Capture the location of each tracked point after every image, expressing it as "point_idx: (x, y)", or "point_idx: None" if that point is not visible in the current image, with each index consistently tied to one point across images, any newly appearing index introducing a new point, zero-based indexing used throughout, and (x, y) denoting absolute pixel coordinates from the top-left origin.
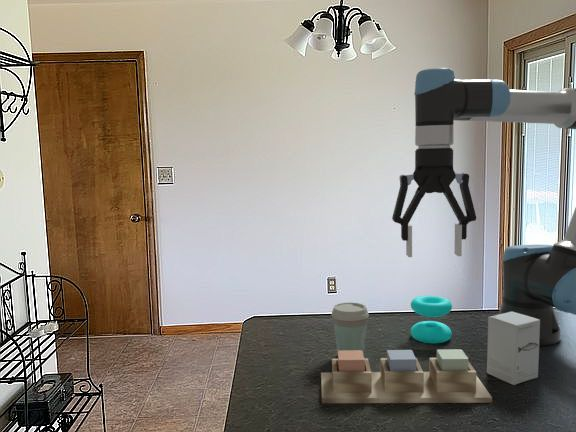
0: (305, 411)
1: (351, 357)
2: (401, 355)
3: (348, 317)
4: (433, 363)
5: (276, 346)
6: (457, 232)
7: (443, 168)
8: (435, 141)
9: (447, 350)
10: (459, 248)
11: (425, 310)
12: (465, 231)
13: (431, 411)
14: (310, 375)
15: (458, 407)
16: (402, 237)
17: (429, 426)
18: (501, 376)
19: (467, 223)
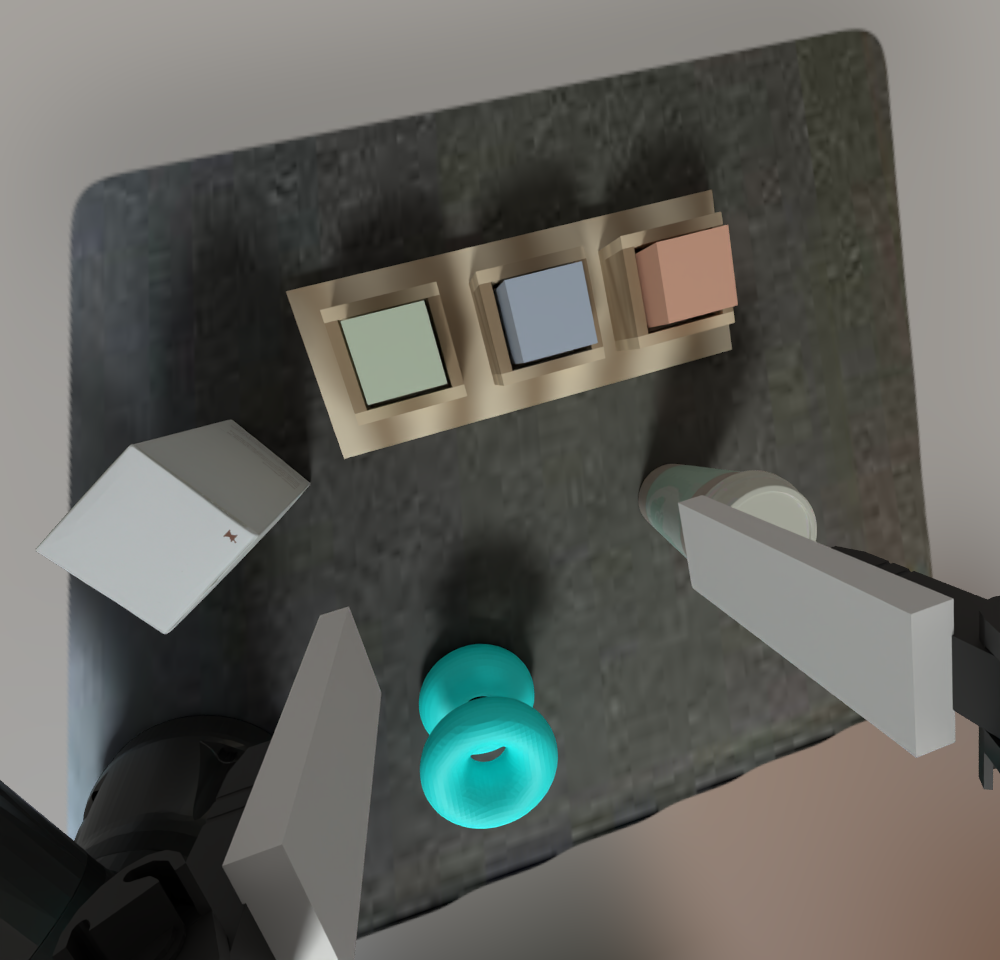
0: (734, 141)
1: (694, 255)
2: (551, 305)
3: (754, 475)
4: (452, 352)
5: (850, 513)
6: (319, 770)
7: None
8: None
9: (412, 383)
10: (325, 646)
11: (505, 702)
12: (215, 825)
13: (441, 205)
14: (749, 354)
15: (375, 244)
16: (869, 557)
17: (440, 115)
18: (266, 449)
19: (101, 889)
